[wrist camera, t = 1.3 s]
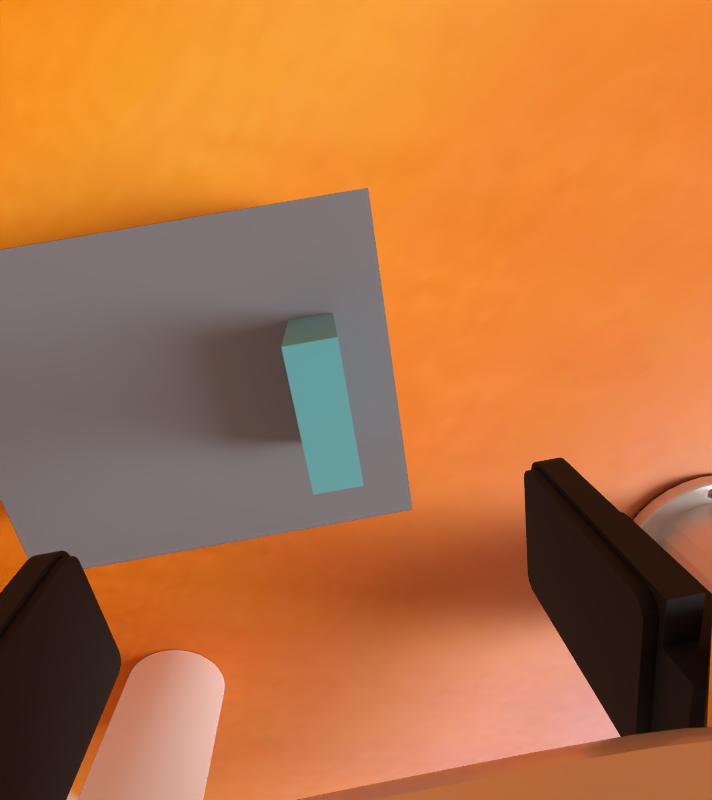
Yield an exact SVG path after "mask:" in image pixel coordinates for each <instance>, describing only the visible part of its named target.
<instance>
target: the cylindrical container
mask: <svg viewBox="0 0 712 800" xmlns="http://www.w3.org/2000/svg"><path fill="white" fill-rule="evenodd" d="M224 691H225V682H224V678H223V675H222V674H221V672H220V670H219V669H218V668H217V666H216V665H215V664H214V663H212V662H211V661H210V660H209V659H207V658H205V657H203V656H201V655H199V654H196V653H193V652H189V651H183V650H167V651H161V652H157V653H154V654H151V655H149V656H147V657H145V658H144V659H142V660H141V661H139V662H138V663H137V664H136V665H135V666H134V668H133V669H132V671H131V673H130V675H129V677H128V679H127V682H126V684H125V687H124V689H123V691H122V694H121V696H120V699H119V701H118V704H117V706H116V708H115V711H114V713H113V716H112V718H111V721H110V723H109V725H108V728H107V730H106V733H105V735H104V738H103V740H102V743H101V745H100V747H99V750H98V752H97V755H96V757H95V760H94V762H93V764H92V767H91V769H90V772H89V774H88V777H87V779H86V781H85V784H84V786H83V789H82V791H81V794H80V796H79V798H78V800H203V798H204V793H205V788H206V783H207V778H208V773H209V768H210V762H211V757H212V752H213V747H214V742H215V737H216V732H217V727H218V722H219V716H220V711H221V706H222V701H223V696H224Z"/></svg>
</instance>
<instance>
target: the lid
mask: <svg viewBox="0 0 712 800" xmlns="http://www.w3.org/2000/svg"><path fill="white" fill-rule="evenodd" d="M0 500H1V502H2V504H3V506H4V509H5V511H6V513H7V515H8V517H9V519H10V521H11V523H12V525H13V527H14V530H15V532H16V534H17V536H18V538H19V540H20V542H21V544H22V546H23V549H24V551H25V553H26V555H27V557H28V559H29V558H31V557H32V556H35V555H40V554H46V553H51V552H56V551H66V552H67V553H68V554H69V555H70V556H75V557H77V558H78V560H79V561H80V564H81V566H82V568H83V569H87V568H93V567H98V566H104V565H109V564H115V563H120V562H126V561H131V560H137V559H142V558H148V557H153V556H159V555H164V554H170V553H176V552H181V551H187V550H192V549H198V548H203V547H209V546H214V545H220V544H225V543H231V542H236V541H242V540H247V539H253V538H258V537H264V536H269V535H275V534H281V533H286V532H292V531H297V530H303V529H308V528H314V527H319V526H325V525H330V524H336V523H341V522H347V521H352V520H358V519H363V518H369V517H374V516H380V515H386V514H391V513H397V512H402V511H408V510H412V503H411V496H410V489H409V482H408V474H407V467H406V460H405V453H404V445H403V438H402V431H401V424H400V416H399V409H398V402H397V395H396V388H395V380H394V373H393V366H392V359H391V351H390V344H389V337H388V330H387V322H386V315H385V308H384V301H383V293H382V286H381V279H380V272H379V264H378V257H377V250H376V243H375V235H374V228H373V221H372V214H371V207H370V199H369V192H368V188H365V189H359V190H353V191H347V192H341V193H335V194H329V195H323V196H317V197H311V198H305V199H299V200H293V201H287V202H281V203H275V204H270V205H264V206H258V207H252V208H246V209H240V210H234V211H228V212H222V213H216V214H210V215H204V216H198V217H192V218H186V219H180V220H175V221H169V222H163V223H157V224H151V225H145V226H139V227H133V228H127V229H121V230H115V231H109V232H103V233H97V234H91V235H85V236H80V237H74V238H68V239H62V240H56V241H50V242H44V243H38V244H32V245H26V246H20V247H14V248H8V249H2V250H0Z"/></svg>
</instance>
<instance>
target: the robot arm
mask: <svg viewBox="0 0 712 800" xmlns="http://www.w3.org/2000/svg"><path fill="white" fill-rule="evenodd" d="M524 488H525V512H526V537H527V562H528V577H529V581H530V585H531V587H532V590H533V591H534V593H535V595H536V597H537V598H538V600H539V602H540V603H541V605H542V607H543V608H544V610H545V612H546V613H547V615H548V617H549V618H550V620H551V622H552V623H553V625H554V626H555V628H556V630H557V631H558V633H559V635H560V636H561V638H562V640H563V641H564V643H565V645H566V646H567V648H568V650H569V651H570V653H571V655H572V656H573V658H574V660H575V661H576V663H577V665H578V666H579V668H580V670H581V671H582V673H583V675H584V676H585V678H586V680H587V681H588V683H589V684H590V686H591V688H592V689H593V691H594V693H595V694H596V696H597V698H598V699H599V701H600V703H601V704H602V706H603V708H604V709H605V711H606V713H607V714H608V716H609V718H610V719H611V721H612V723H613V724H614V726H615V728H616V729H617V731H618V733H619V734H620V736H621V737H618V738H612V739H606V740H601V741H595V742H590V743H584V744H578V745H573V746H567V747H562V748H556V749H550V750H545V751H539V752H534V753H528V754H523V755H518V756H513V757H508V758H503V759H498V760H493V761H488V762H483V763H478V764H473V765H468V766H462V767H457V768H452V769H447V770H442V771H437V772H432V773H427V774H422V775H417V776H412V777H407V778H402V779H397V780H392V781H387V782H382V783H377V784H372V785H367V786H362V787H357V788H352V789H347V790H342V791H337V792H332V793H327V794H322V795H317V796H313V797H308V798H303V799H298V800H712V476H706V477H700V478H697V479H694V480H690V481H687V482H684V483H682V484H680V485H678V486H676V487H674V488H671V489H669V490H667V491H666V492H664V493H663V494H662V495H660V496H659V497H657V498H656V499H654V500H653V501H652V502H650V503H649V504H648V505H647V506H646V507H645V508H644V509H643V510H642V511H640V513H639V514H638V515H637V516H636V517H635V519H634V520H632V519H631V518H630V517H629V516H627V515H626V514H624V513H621V512H620V511H618V510H617V509H616V508H615V507H614V506H613V505H612V504H611V503H610V502H609V501H608V500H607V499H606V498H605V497H604V496H603V495H601V494H600V493H599V492H598V491H597V490H596V489H595V488H594V487H593V486H592V485H591V484H590V483H589V482H588V481H587V480H586V479H584V478H583V477H582V476H581V475H580V474H579V473H578V472H577V471H576V470H575V469H574V468H573V467H572V466H571V465H570V464H569V463H567V462H566V461H565V460H564V459H563V458H555V459H550V460H544V461H539V462H534V463H533V464H532V467H531V470H529V471H526V472H525V474H524ZM120 666H121V657H120V653H119V650H118V648H117V645H116V643H115V641H114V639H113V636H112V634H111V632H110V629H109V627H108V625H107V623H106V620H105V618H104V616H103V614H102V611H101V609H100V607H99V604H98V602H97V600H96V598H95V595H94V593H93V591H92V589H91V586H90V584H89V582H88V579H87V577H86V575H85V573H84V570H83V568H82V566H81V564H80V561H79V560H78V558H77V557H75V556H70V555H69V554H68V553H67V552H66V551H56V552H51V553H46V554H40V555H35V556H32V557H31V558H29V559H28V560H27V561H26V563H25V564H24V565H23V566H22V568H21V569H20V570H19V571H18V572H17V574H16V575H15V576H14V577H13V579H12V580H11V581H10V582H9V583H8V585H7V586H6V587H5V588H4V589H3V591H2V592H1V593H0V800H66V799H67V797H68V794H69V792H70V789H71V787H72V785H73V782H74V780H75V777H76V775H77V773H78V770H79V768H80V765H81V763H82V761H83V758H84V756H85V753H86V751H87V749H88V746H89V744H90V741H91V739H92V737H93V734H94V732H95V729H96V727H97V725H98V722H99V720H100V717H101V715H102V712H103V710H104V708H105V705H106V703H107V700H108V698H109V696H110V693H111V691H112V688H113V686H114V684H115V681H116V679H117V676H118V674H119V671H120Z"/></svg>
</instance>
